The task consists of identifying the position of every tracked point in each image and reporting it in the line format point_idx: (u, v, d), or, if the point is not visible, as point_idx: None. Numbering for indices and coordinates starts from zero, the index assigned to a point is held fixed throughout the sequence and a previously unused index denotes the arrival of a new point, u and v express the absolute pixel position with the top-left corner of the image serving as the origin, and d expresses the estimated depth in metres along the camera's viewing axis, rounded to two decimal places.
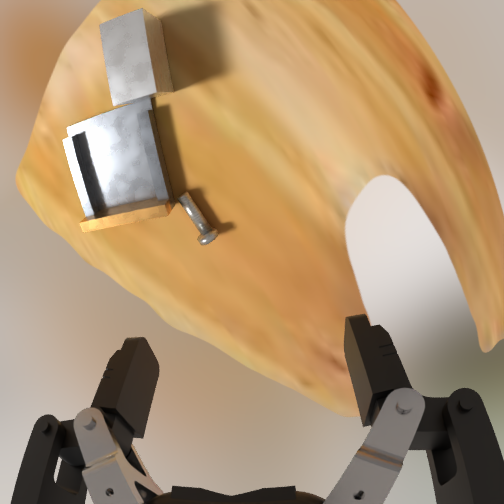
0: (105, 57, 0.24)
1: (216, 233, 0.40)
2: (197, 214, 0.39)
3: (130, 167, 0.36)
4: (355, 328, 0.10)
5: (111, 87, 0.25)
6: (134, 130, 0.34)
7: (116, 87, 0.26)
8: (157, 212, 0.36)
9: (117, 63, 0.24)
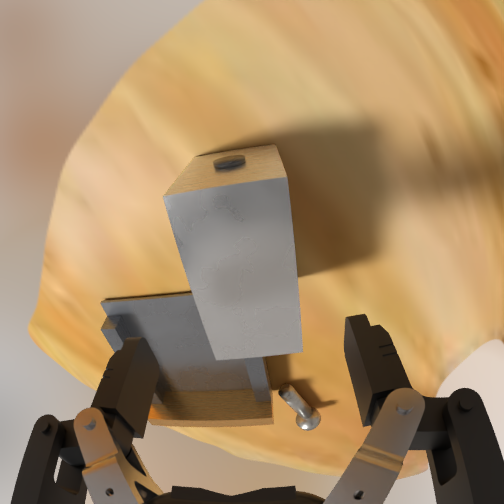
0: (191, 282, 0.14)
1: (319, 418, 0.30)
2: (302, 406, 0.29)
3: (214, 362, 0.27)
4: (355, 328, 0.10)
5: (211, 336, 0.16)
6: None
7: (222, 337, 0.16)
8: (260, 422, 0.26)
9: (223, 299, 0.14)
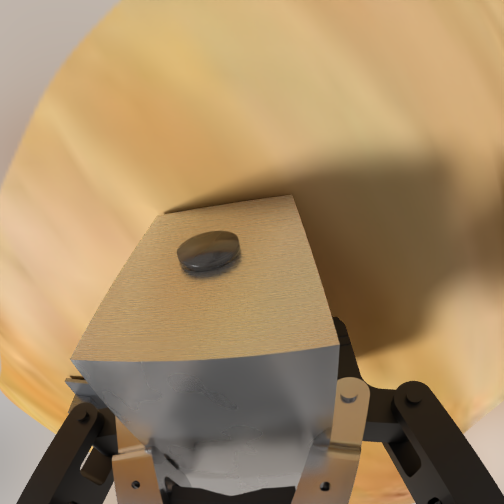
0: None
1: None
2: None
3: None
4: None
5: (195, 486, 0.09)
6: None
7: (211, 488, 0.09)
8: None
9: (209, 469, 0.07)
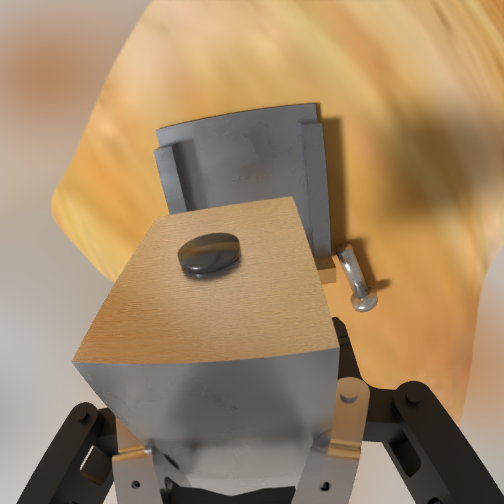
0: None
1: None
2: (360, 273, 0.28)
3: None
4: None
5: (196, 487, 0.09)
6: (284, 149, 0.24)
7: (212, 489, 0.09)
8: (322, 277, 0.25)
9: (209, 469, 0.07)
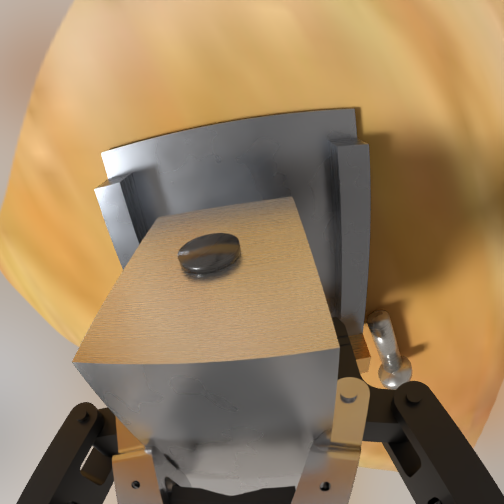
0: None
1: (411, 369, 0.20)
2: (395, 347, 0.19)
3: None
4: None
5: (196, 487, 0.09)
6: (303, 182, 0.15)
7: (212, 489, 0.09)
8: None
9: (209, 469, 0.07)
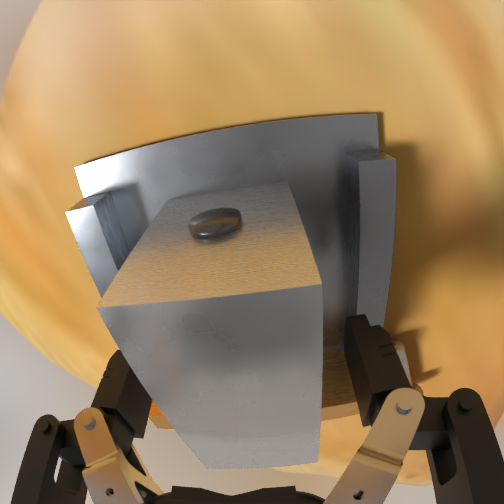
0: (163, 409, 0.08)
1: None
2: (408, 377, 0.17)
3: None
4: (355, 328, 0.10)
5: (198, 452, 0.10)
6: (315, 202, 0.12)
7: (213, 454, 0.10)
8: None
9: (211, 427, 0.09)
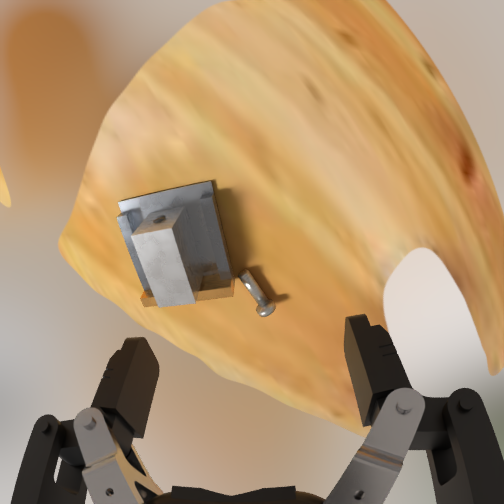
0: (144, 268, 0.34)
1: (274, 306, 0.43)
2: (257, 290, 0.42)
3: None
4: (355, 328, 0.10)
5: (154, 293, 0.36)
6: (194, 212, 0.38)
7: (159, 294, 0.36)
8: (223, 293, 0.39)
9: (156, 275, 0.34)
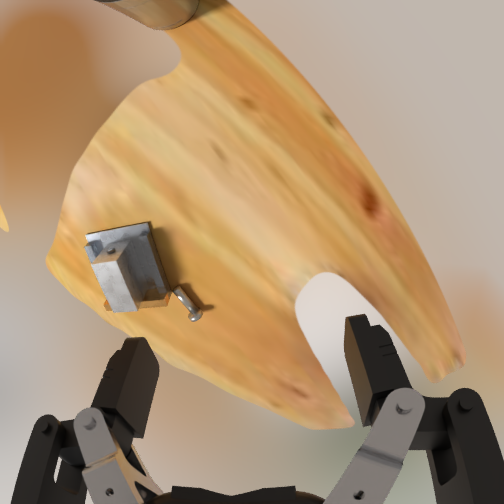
0: (101, 286, 0.46)
1: (201, 313, 0.56)
2: (187, 301, 0.55)
3: None
4: (355, 328, 0.10)
5: (109, 303, 0.48)
6: (138, 244, 0.50)
7: (113, 304, 0.48)
8: (159, 303, 0.52)
9: (110, 291, 0.46)
